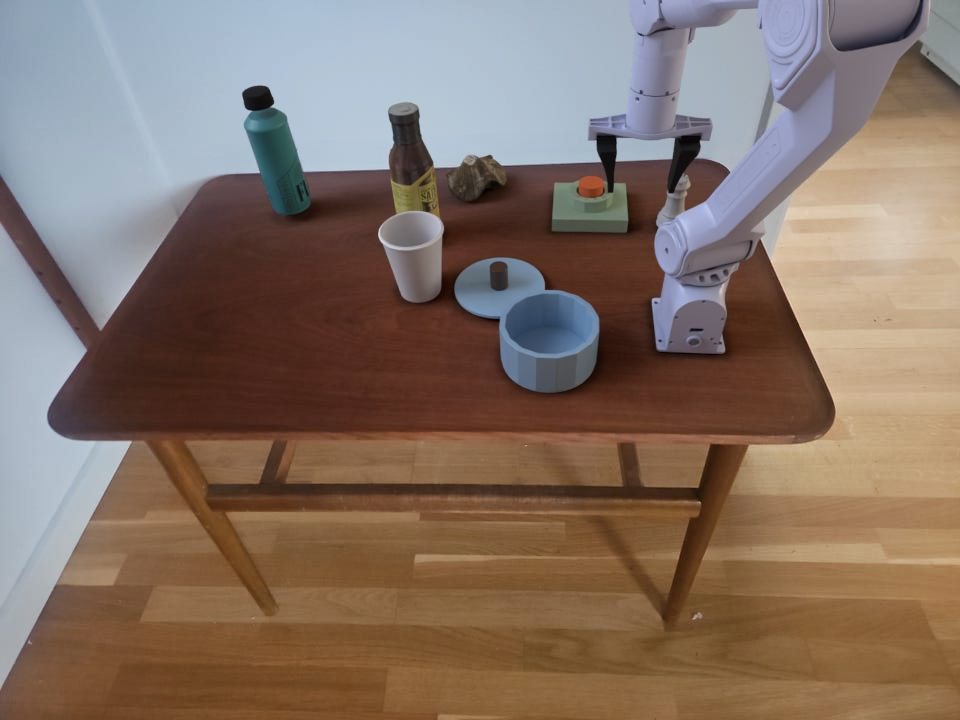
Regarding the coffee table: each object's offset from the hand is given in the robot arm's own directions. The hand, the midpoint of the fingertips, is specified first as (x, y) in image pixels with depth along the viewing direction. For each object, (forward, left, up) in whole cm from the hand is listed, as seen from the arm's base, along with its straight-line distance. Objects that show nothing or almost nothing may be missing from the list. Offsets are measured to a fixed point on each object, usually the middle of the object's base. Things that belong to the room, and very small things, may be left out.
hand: (640, 189), depth 84 cm
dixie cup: (-9, +29, -11) cm, 32 cm away
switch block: (+10, +6, -10) cm, 16 cm away
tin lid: (-9, +18, -10) cm, 22 cm away
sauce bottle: (+3, +31, -11) cm, 33 cm away
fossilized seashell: (+16, +24, -11) cm, 31 cm away
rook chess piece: (+7, -6, -11) cm, 14 cm away
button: (+10, +6, -7) cm, 13 cm away
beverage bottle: (+9, +53, -11) cm, 55 cm away
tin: (-21, +11, -10) cm, 26 cm away
